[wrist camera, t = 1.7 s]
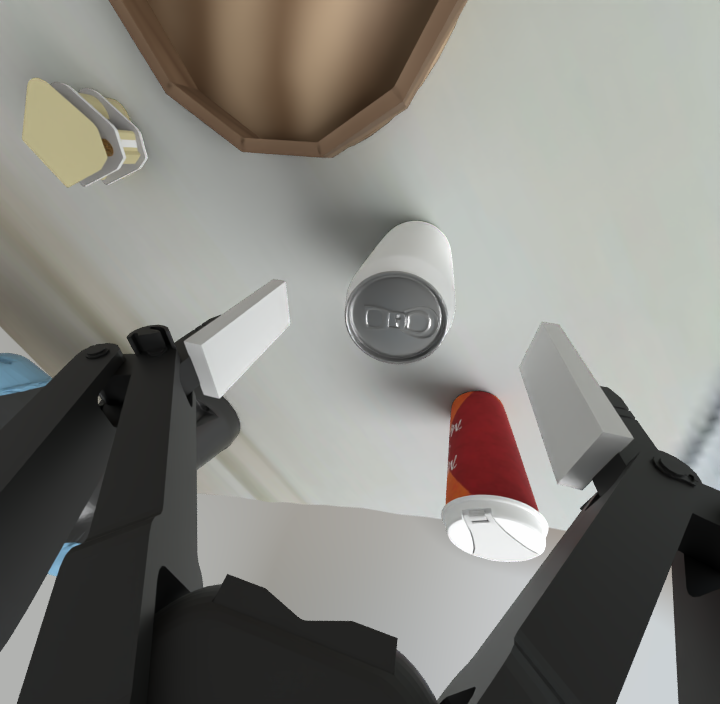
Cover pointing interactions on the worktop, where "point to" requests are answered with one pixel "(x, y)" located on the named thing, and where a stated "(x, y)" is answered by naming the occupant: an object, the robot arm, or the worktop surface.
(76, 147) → the yellow layered block
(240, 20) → the tray
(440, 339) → the can
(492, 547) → the paper cup
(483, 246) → the worktop surface
